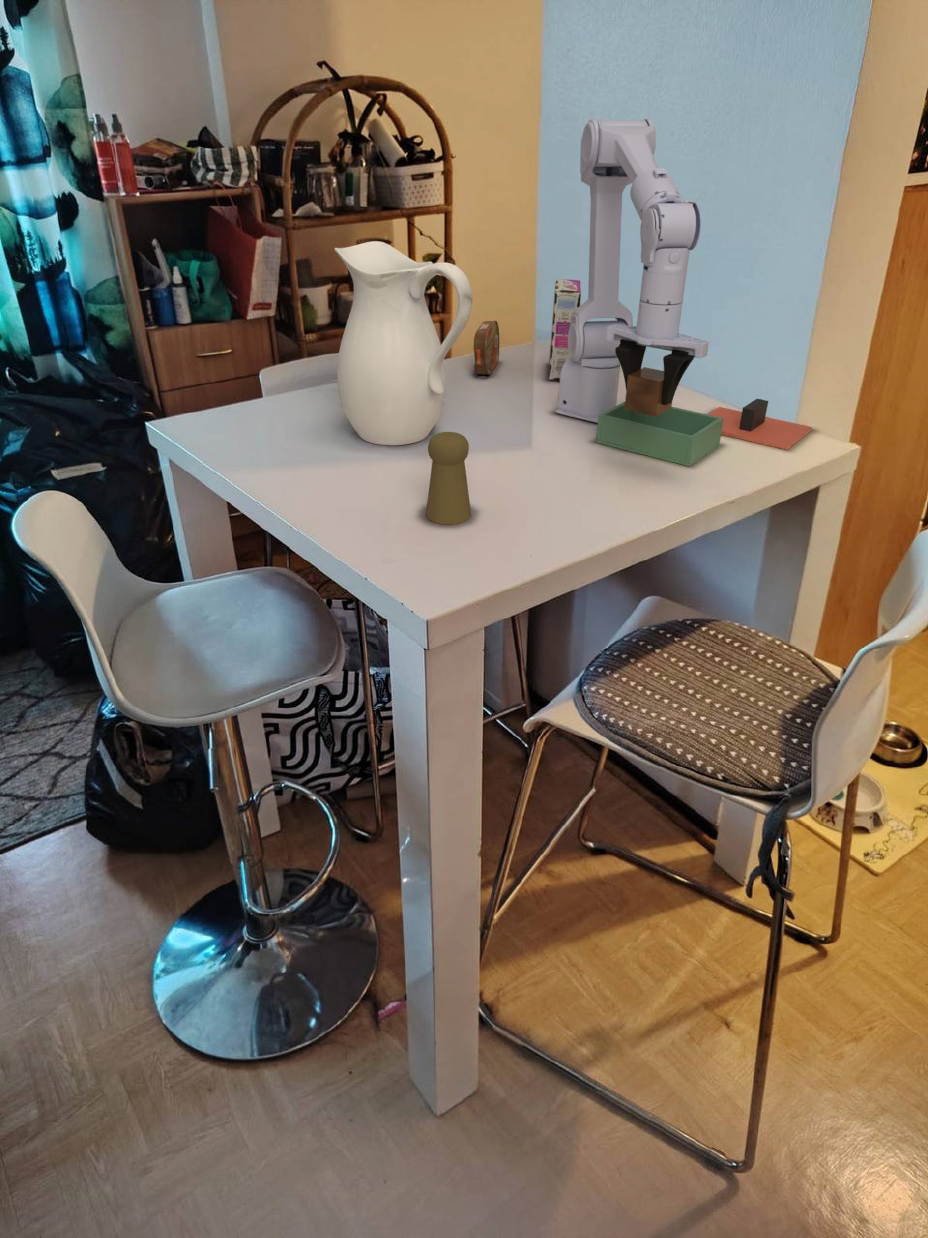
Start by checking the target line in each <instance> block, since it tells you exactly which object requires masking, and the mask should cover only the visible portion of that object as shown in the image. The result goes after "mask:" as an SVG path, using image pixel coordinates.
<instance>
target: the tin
mask: <svg viewBox="0 0 928 1238" xmlns="http://www.w3.org/2000/svg"><path fill="white" fill-rule="evenodd" d="M473 352H474V353H473V354H474V355H473V356H474V371H475V374H476V375H478V376H482V375H483V376H491V375H492V374H493V372H494V370H495V368H496V366H497V364H498V363H499V357H500V328H499V323H498V321H497V320H486V321H483V322H482V323H481V324H480V325H479V327H478V329H476V331H475V333H474V336H473Z"/></svg>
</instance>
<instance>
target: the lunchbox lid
mask: <svg viewBox="0 0 928 1238" xmlns="http://www.w3.org/2000/svg"><path fill="white" fill-rule="evenodd" d="M768 406H769V400H765V399H761V398H756V399H754V400H753V401H751V402H750V403H748V404H746V405H745V406H743V407H742V410H741V411H740V410H736V409H731V408H726V407H721V406H718V407H716V408H715V409H713V410H712V411H710V412H709V413H706V414H707V415H712V416H716V417H721V418H724V421H723V427H722V432H721V436H725V437H731V438H735V439H738V440H743V441H746V442H747V441H749V442H751V443H752V442H753V443H756V444H761V445H765V446H769V447H773V448H777V449H781V450H786V451H788V450H790V448H791V447H793V446H794V445H795V444H797V442H799V441H800V440H801V439H802V438H804V437H805V436H806V435H808V434H809V433H810V432H811V431H812V429H813V426H808V425H804V424H800V423H797V422H796V423H794V422H790V421H786V420H782V419H778V418H772V417H768V416H767V412H768Z"/></svg>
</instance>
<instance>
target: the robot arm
mask: <svg viewBox="0 0 928 1238" xmlns="http://www.w3.org/2000/svg"><path fill="white" fill-rule="evenodd" d="M656 145H657V131H656V127H655V125H654V124H653V121H652V120H651V119H649V118H646V119H645V118H644V119H643V120H642V119H596V118H589V120H588V122H587V123H585V126H584V128H583V131H582V135H581V140H580V153H579V155H580V158H579V159H580V160H579V161H580V162H579V173H580V181H581V182H582V183H584V184H585V185H587V186H589V195H590V217H589V219H590V221H589V249H588V250H589V251H588V252H589V255H588V294H587V295H588V296H587V299H586V300H585V301H584V302H583V303H581V304H580V306H579V307H578V308H577V309H576V310H575V311H574V312H573V313H572V315H571V320H570V328H569V332H568V350H569V354H570V357H571V358H569V359H568V360H567V361H566V362H565V363H564V365H563V368H562V370H561V375H560V381H559V387H558V401H557V408H556V409H555V413H556V414H559V415H563V416H566V417H572V418H575V419H580V420H584V421H587V422H592V423H595V424H598V418H599V415H600V414H602V413H604V412H606V411H608V410H609V409H611V408H613V407H615V406H617V400H618V391H619V382H620V373H621V372H620V371H622V375H623V379H624V384H625V390H626V389H627V380H628V375H629V374H631V373H634V372H636V371H638V370H640V369H642V365H643V362H644V361H643V360H644V356H645V354H646V351H647V347H648V348H652V349H657V350H662V351H669V352H671V353H668V354H666V355H664V356H663V357H662V363H663V371H664V385H663V391H662V405H668V404H669V403H671V402H672V403H673V400H674V398H675V397H674V396H675V394H676V391H677V389H678V386H679V385H680V382H681V380H682V378H683V377H684V375H685V373H686V371H687V369H688V367H689V366H690V365H691V364H692V362H693V361H694V359H695V358H696V359H702V358H705V357H706V356H708V351H709V344H710V341H709V340H706V339H700V338H697V337H695V336H690V335H688V334H684V333H681V332H679V331H680V325H681V317H682V311H683V301H684V295H685V288H686V281H687V273H688V267H689V266H688V265H689V259H690V258H689V257H690V251H693V250H694V249H695V248H696V246H697V245H698V242H699V240H700V236H701V231H702V214H701V209H700V207H699V204H698V202H697V201H695V200H693V201H691V200H688V199H685V200H684V199H683V197H682V195H681V193H680V192H679V189H678V187H677V186H676V184H675V182H674V180H673V178H672V176H671V175H670V173H669V171H667V170H666V168H665V167H658V165H657V162H656V160H655V157H654V155H655V152H656ZM629 185H631V186H630V191H629V194H630V200H631V202H632V204H633V206H634V209H635V211H636V213H637V216H638V217H639V220H640V222H641V223H640V229H639V230H640V231H639V235H640V237H639V238H640V245H641V247H640V248H641V249H640V263H641V264H642V265H643V266H642V276H641V284H640V292H639V303H638V312H637V320H636V326H635V325H633V324H634V323H633V321H634V320H633V319H634V317H633V312H632V310H630V309H629V308H628V307H627V306H625V304H624V303H622V302H621V301H620V300H619V293H620V292H619V289H620V288H619V287H620V265H621V263H620V262H621V239H622V238H621V237H622V235H621V234H622V210H623V207H622V206H623V193H624V190H625V189H626V187H627V186H629ZM593 319H615V320H596V321H595V320H594V321H593ZM590 320H591V321H590Z"/></svg>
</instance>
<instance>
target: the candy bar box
mask: <svg viewBox="0 0 928 1238" xmlns="http://www.w3.org/2000/svg"><path fill="white" fill-rule="evenodd" d="M554 283H555V284H554V292H553V293H554V294H553V306H552V318H551V319H552V321H551V333H550V334H551V335H550V346H549V347H550V349H549V361H548V381H554V382H555V381H557V382H560V375H561V370H562V368H563V365H564V363H565V362H566V361H567V360H568V359H569V358H571V357H570V354H569V350H568V332H569V328H570V320H571V315H572V313H573V312H574V311H575V310H576V309H577V308H578V307H579V306H581V300H582V289H581V288H582V285H581V284H582V283H581V280H579V279H561V278H560V279H557V278H556V279H555V282H554Z"/></svg>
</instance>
